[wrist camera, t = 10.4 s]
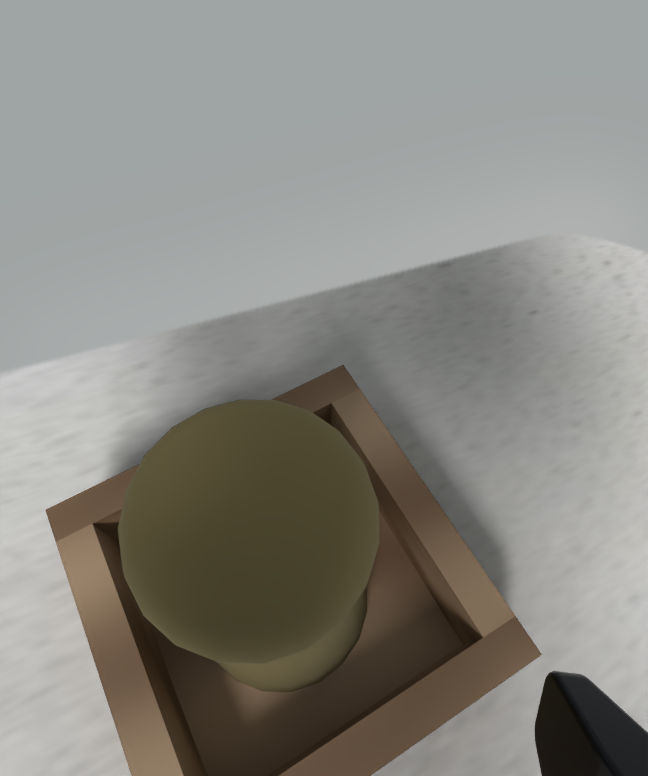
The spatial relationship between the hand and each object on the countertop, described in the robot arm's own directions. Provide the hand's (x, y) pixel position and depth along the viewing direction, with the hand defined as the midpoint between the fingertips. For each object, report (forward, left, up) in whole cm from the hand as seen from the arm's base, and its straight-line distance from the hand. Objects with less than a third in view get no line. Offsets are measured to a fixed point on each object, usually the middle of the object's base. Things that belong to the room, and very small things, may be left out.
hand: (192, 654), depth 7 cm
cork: (+2, -1, -13) cm, 13 cm away
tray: (+2, -2, -13) cm, 14 cm away
